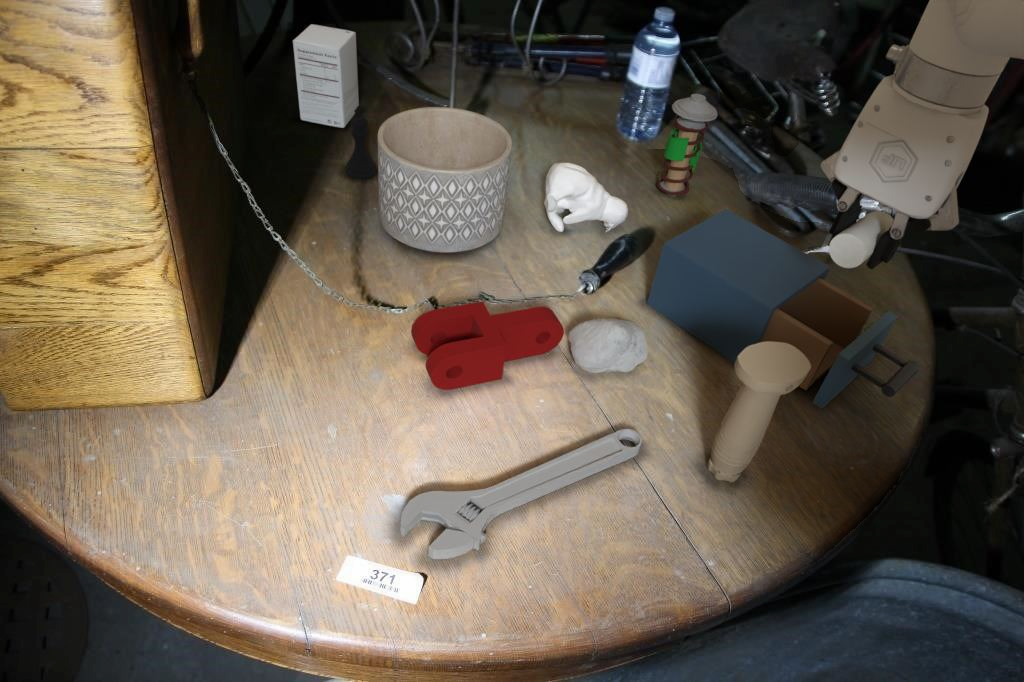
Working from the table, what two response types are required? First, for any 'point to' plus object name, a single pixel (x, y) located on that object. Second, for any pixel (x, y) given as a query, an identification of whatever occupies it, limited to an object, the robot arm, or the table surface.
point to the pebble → (608, 345)
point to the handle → (755, 403)
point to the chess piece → (360, 150)
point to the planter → (443, 178)
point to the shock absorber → (685, 143)
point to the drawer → (836, 340)
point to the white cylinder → (859, 239)
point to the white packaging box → (326, 75)
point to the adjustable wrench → (509, 494)
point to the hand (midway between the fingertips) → (856, 251)
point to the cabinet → (729, 281)
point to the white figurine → (580, 198)
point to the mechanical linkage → (481, 341)
